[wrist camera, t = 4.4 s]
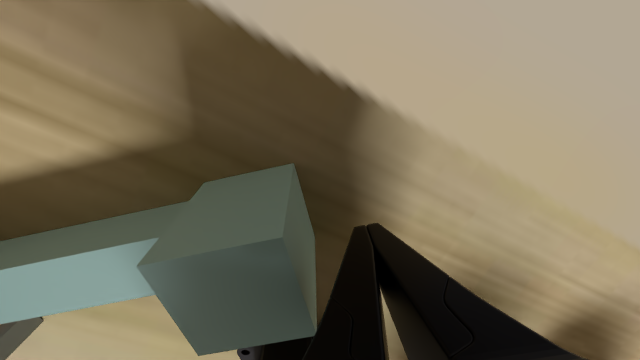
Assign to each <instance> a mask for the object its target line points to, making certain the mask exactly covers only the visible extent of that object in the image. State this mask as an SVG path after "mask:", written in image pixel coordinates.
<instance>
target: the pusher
mask: <svg viewBox="0 0 640 360" xmlns="http://www.w3.org/2000/svg"><path fill="white" fill-rule="evenodd" d="M151 295H156V296H157V297H158V299H159V300H160V301H161V303H162V304H163V306H164V307H165V309H166V310H167V311H168V313H169V314H170V316H171V317H172V319H173V320H174V321H175V323H176V324H177V326H178V327H179V329H180V330H181V332H182V333H183V334H184V336H185V337H186V339H187V340H188V342H189V343H190V344H191V346H192V347H193V349H194V350H195V352H196V353H197V355H198V356H201V355H206V354H212V353H218V352H224V351H230V350H236V349H241V348H247V347H253V346H259V345H265V344H270V343H276V342H282V341H288V340H294V339H299V338H305V337H311V336H314V335H315V333H316V331H317V310H316V263H315V236H314V232H313V229H312V225H311V222H310V218H309V215H308V211H307V208H306V204H305V201H304V197H303V194H302V190H301V187H300V183H299V180H298V176H297V173H296V169H295V166H294V163H292V164H287V165H283V166H278V167H273V168H269V169H264V170H260V171H255V172H250V173H246V174H241V175H237V176H232V177H227V178H223V179H218V180H214V181H209V182H204V183H203V185H202V186H201V187H200V188H199V190H198V191H197V192H196V193H195V194H194V196H193V197H192V198H191V199H190V201H186V202H182V203H177V204H172V205H168V206H163V207H158V208H153V209H149V210H144V211H139V212H135V213H130V214H125V215H121V216H116V217H111V218H107V219H102V220H97V221H93V222H88V223H83V224H79V225H74V226H69V227H65V228H60V229H55V230H51V231H46V232H41V233H37V234H32V235H27V236H23V237H18V238H13V239H8V240H4V241H0V324H4V323H10V322H15V321H20V320H25V319H31V318H36V317H41V316H46V315H52V314H57V313H62V312H67V311H73V310H78V309H83V308H88V307H94V306H99V305H104V304H109V303H115V302H120V301H125V300H130V299H136V298H141V297H146V296H151Z"/></svg>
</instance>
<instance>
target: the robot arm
mask: <svg viewBox="0 0 640 360" xmlns="http://www.w3.org/2000/svg"><path fill="white" fill-rule="evenodd" d="M380 289H381V291H382V294H383V297H384V299H385V302H386V304H387V307H388V309H389V312H390V314H391V317H392V320H393V322H394V325H395V327H396V330H397V332H398V335H399V337H400V340H401V342H402V345H403V347H404V350H405V352H406V355H407V357H408V360H588V359H585V358H583V357H580V356H578V355H576V354H573V353H571V352H569V351H567V350H565V349H563V348H561V347H559V346H558V345H556V344H554V343H553V342H551V341H549V340H548V339H546V338H544V337H543V336H541V335H539V334H538V333H536V332H534V331H533V330H531V329H529V328H528V327H526V326H525V325H523V324H521V323H520V322H518V321H516V320H515V319H513V318H511V317H510V316H508V315H506V314H505V313H503V312H502V311H500V310H498V309H497V308H495V307H494V306H492V305H490V304H489V303H487V302H486V301H484V300H483V299H481V298H479V297H478V296H476V295H475V294H474V293H472V292H471V291H469V290H468V289H467V288H465V287H464V286H462V285H461V284H460V283H458V282H457V281H456V280H454V279H453V278H451V277H449V275H447V274H446V273H445V272H443V271H442V270H441V269H439V268H438V267H437V266H435V265H434V264H433V263H431V262H430V261H429V260H427V259H426V258H424V257H423V256H422V255H420V254H419V253H418V252H416V251H415V250H414V249H412V248H411V247H410V246H408V245H407V244H406V243H404V242H403V241H402V240H400V239H399V238H398V237H396V236H395V235H394V234H392V233H391V232H390V231H388V230H387V229H386V228H384V227H383V226H382V225H380V224H379V223H373V224H368V225H367V226H365V225H363V226H358V227H354V229H353V232H352V235H351V238H350V241H349V243H348V246H347V249H346V252H345V255H344V258H343V261H342V264H341V267H340V269H339V272H338V275H337V278H336V281H335V284H334V287H333V290H332V293H331V295H330V299H329V301H328V304H327V307H326V309H325V312H324V315H323V317H322V320H321V322H320V325H319V327H318V328H317V331H316V333H315V335H314V336H311V337H305V338H299V339H294V340H288V341H282V342H276V343H270V344H265V345H259V346H253V347H247V348H241V349H238V350H237V354H238V356H239V357H240V359H241V360H389V353H388V345H387V338H386V330H385V322H384V314H383V306H382V298H381V292H380Z"/></svg>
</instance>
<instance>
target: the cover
mask: <svg viewBox="0 0 640 360" xmlns="http://www.w3.org/2000/svg"><path fill="white" fill-rule="evenodd" d="M42 322H43V320H42V319H41V318H40V317H36V318H31V319H25V320H20V321H15V322H10V323H4V324H1V325H0V360H5V359H6V358H7V357H8V356H9V355H10V354H11V353H12V352H13V351H14V350H15V349H16V348H17V347H18V346H19V345H20V344H21V343H22V342H23V341H24V340H25V339H26V338H27V337H28V336H29V335H30V334H31V333H32V332H33V331H34V330H35V329H36V328H37V327H38V326H39V325H40V324H41V323H42Z"/></svg>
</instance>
